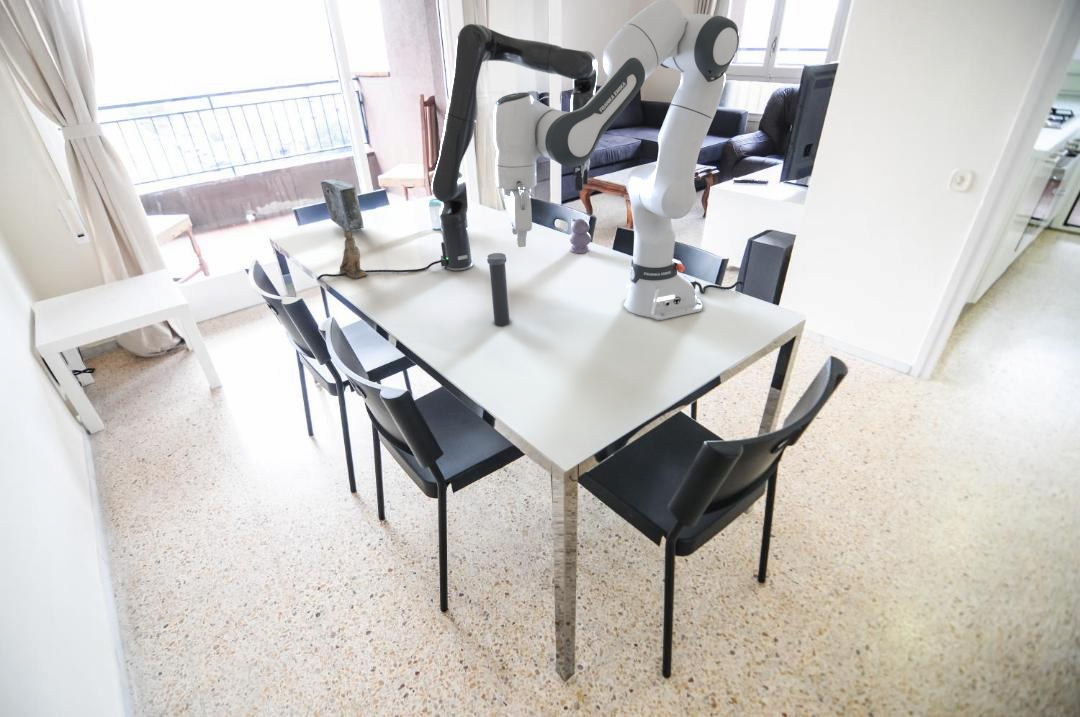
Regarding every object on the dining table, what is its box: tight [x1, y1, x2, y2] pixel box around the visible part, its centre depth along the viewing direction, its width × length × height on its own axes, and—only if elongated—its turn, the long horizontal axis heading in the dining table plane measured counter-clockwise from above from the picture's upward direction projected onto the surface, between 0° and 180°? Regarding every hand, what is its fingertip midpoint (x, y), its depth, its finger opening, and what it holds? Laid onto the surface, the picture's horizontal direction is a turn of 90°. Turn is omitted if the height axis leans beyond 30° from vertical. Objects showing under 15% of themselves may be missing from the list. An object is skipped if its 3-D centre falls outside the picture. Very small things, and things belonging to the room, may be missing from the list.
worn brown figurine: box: [339, 230, 367, 280], centre depth 174 cm, size 12×6×18 cm, turn 43°
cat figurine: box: [568, 218, 592, 254], centre depth 188 cm, size 8×8×12 cm
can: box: [426, 198, 443, 230], centre depth 220 cm, size 7×7×12 cm
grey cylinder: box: [488, 262, 510, 327], centre depth 137 cm, size 4×4×19 cm
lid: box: [486, 252, 507, 265], centre depth 132 cm, size 5×5×2 cm
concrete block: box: [320, 178, 365, 232], centre depth 221 cm, size 27×9×20 cm, turn 36°
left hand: (581, 186), depth 155 cm, fingers open, 8 cm apart
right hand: (518, 239), depth 115 cm, fingers open, 8 cm apart
